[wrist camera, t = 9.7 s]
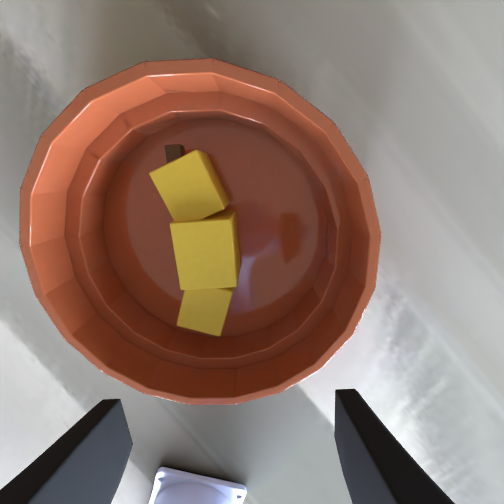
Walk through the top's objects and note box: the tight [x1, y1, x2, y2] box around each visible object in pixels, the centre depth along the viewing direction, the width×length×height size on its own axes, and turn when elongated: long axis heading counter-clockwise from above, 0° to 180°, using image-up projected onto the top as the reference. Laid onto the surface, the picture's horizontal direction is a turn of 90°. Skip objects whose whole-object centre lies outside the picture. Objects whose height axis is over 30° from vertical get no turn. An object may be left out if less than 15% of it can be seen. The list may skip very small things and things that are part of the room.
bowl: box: [19, 58, 381, 405], centre depth 14 cm, size 16×16×5 cm
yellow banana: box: [149, 144, 241, 336], centre depth 14 cm, size 10×4×3 cm, turn 4°
